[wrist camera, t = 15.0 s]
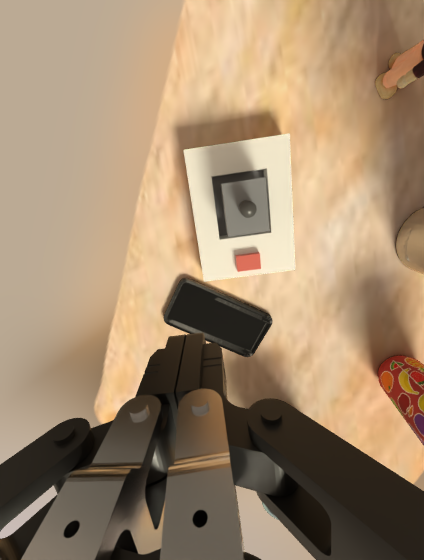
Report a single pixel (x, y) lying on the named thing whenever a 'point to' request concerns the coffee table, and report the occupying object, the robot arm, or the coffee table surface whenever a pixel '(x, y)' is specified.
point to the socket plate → (210, 215)
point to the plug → (245, 206)
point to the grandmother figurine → (401, 71)
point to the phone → (217, 317)
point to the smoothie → (405, 389)
